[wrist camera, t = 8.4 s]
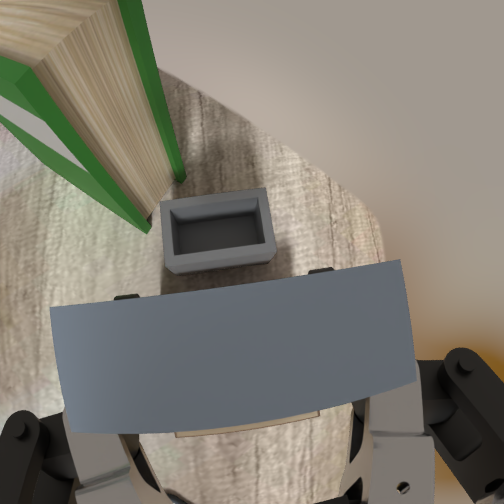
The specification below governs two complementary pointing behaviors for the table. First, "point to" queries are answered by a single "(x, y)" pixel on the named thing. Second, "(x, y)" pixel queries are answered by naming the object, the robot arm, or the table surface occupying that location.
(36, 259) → the table surface
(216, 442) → the table surface
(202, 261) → the bin
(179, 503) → the notched smartphone
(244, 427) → the offcut stack
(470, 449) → the robot arm
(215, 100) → the table surface
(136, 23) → the hardback book
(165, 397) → the blue-grey rectangular block
